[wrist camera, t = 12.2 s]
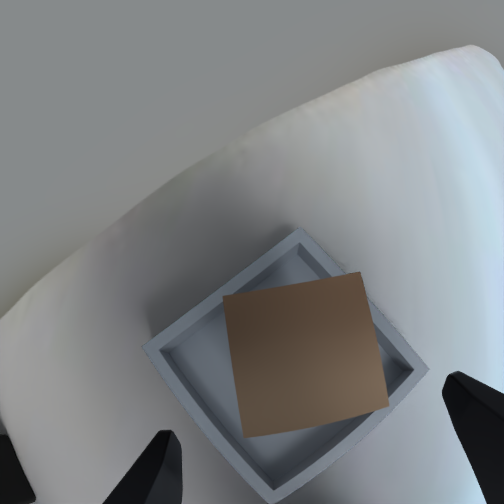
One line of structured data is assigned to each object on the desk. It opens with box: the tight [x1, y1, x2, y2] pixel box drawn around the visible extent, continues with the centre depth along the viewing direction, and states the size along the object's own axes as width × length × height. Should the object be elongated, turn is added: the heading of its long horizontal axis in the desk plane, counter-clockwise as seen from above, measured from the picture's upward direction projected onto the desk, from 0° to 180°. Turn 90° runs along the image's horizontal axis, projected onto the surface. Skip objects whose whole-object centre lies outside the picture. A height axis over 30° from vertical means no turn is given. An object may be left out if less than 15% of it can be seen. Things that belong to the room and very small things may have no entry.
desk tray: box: [142, 227, 429, 504], centre depth 18 cm, size 13×13×2 cm
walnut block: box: [222, 272, 389, 438], centre depth 13 cm, size 4×4×11 cm
